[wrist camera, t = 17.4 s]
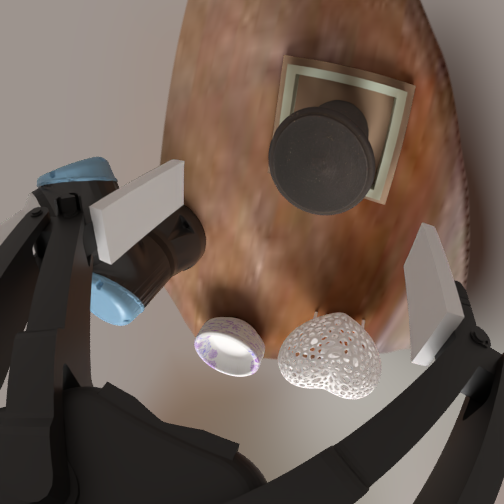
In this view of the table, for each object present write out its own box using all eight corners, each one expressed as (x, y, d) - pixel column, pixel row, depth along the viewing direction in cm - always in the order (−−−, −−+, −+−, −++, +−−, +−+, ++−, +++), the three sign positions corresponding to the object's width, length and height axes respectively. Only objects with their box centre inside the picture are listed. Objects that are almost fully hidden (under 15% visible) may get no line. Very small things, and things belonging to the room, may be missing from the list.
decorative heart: (392, 308, 51) (390, 384, 37) (373, 344, 57) (365, 415, 44) (300, 284, 55) (274, 355, 42) (291, 323, 61) (266, 390, 48)
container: (305, 155, 41) (261, 211, 25) (309, 93, 36) (265, 103, 20) (365, 165, 39) (365, 231, 23) (373, 103, 34) (384, 119, 18)
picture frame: (270, 170, 46) (262, 177, 42) (286, 55, 35) (279, 53, 32) (384, 200, 42) (385, 211, 39) (413, 85, 31) (419, 85, 28)
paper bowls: (280, 351, 67) (270, 377, 61) (228, 354, 75) (215, 377, 69) (251, 302, 62) (236, 329, 56) (197, 311, 70) (180, 334, 63)
